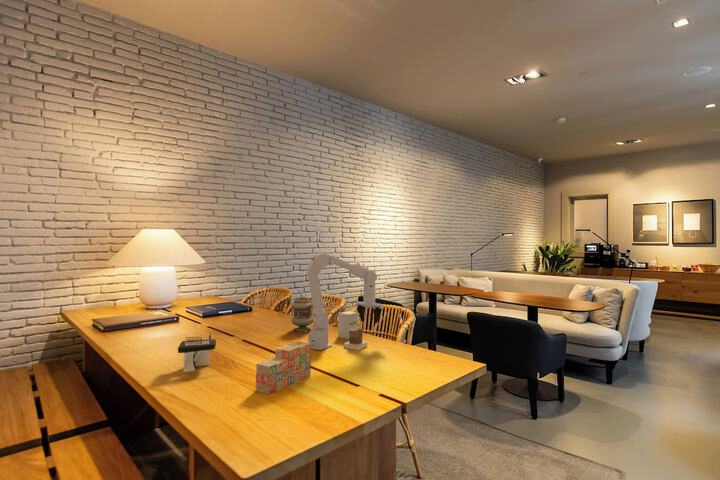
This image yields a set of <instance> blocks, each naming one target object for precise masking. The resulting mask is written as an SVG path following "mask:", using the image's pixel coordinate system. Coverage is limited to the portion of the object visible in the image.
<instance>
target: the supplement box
mask: <svg viewBox="0 0 720 480" xmlns="http://www.w3.org/2000/svg"><path fill="white" fill-rule="evenodd" d="M337 320H338V321H337V322H338V324H337V326H338V327H337V328H338V329H337V337H338V338H341V339H346V340H349V330H351V329H354V328H355V329H358V312H355V311H343V312H341V311H340V312H338V316H337Z"/></svg>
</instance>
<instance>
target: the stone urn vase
mask: <svg viewBox="0 0 720 480" xmlns="http://www.w3.org/2000/svg"><path fill="white" fill-rule="evenodd" d="M291 308H292V309H293V317H292V318H291V324H293V325H294V326H296V327H295V328H294V329H293V331H294V332H295V331H296V332H295V333H306V332H305V331H309V332H310V330H311V331H312V328H311V327H308V326H310V325H311V324H312V323H314V322H313V315H312V309H313V303H312V300H311V297H308V296H307V297H302V296H301V297H299V296H298V297H295V298H294V301H293V302H292V304H291Z"/></svg>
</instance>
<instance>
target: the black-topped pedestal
mask: <svg viewBox="0 0 720 480" xmlns="http://www.w3.org/2000/svg"><path fill="white" fill-rule="evenodd" d="M184 338H185V339H184V340H182V341H181V342H180V344H179V346H178V347H177V353H178V354H183V373H185V374H186V373H190V372H195V371H196V367H200V366H201V367H202V366H203V367H204V366H211V350H215V349H216V346H217V340H216V339H214V338H212V332H210V333H209V335H208V337H207V338H208V339H202V337H201V335H200V336H191V337H190V336H189V337H187V336H185V337H184Z"/></svg>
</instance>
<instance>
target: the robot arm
mask: <svg viewBox="0 0 720 480" xmlns="http://www.w3.org/2000/svg"><path fill="white" fill-rule="evenodd" d="M333 265H335V266H338V267H340V268H342V269H345V270H347V271H349V272H348V273H349V274H351V275H352V276H355V277H357V278H359V279H362V280H363V301H356V302H355V308H356V310H357V314H358V315H359V318H360V322H364V321H365V317H366V316H365V313H366V308H372V311H373V322H374V324H377V323H379V318H380V315H381V313H382V311H383V309H384V304H382V303H378V302H376V280H377V279H378V275H377V272H376V271H374V270H372V269H369V267H368V266H363V265H361V263H360V262H354V263H349V262H347V261H345V260H343V259H341V258H338V257H337V256H334V255H329V254H326V253H322V252H317V253H316V254H315V255H313V256H312V258H311V259H310V263H309V265H308V267H307V269H306V270H307V271H306V275H307V280H308V285H309V291H310V296H311V297H310V298H311V302H312V303H313V307H312V309H313V310H312V312H313V313H312V314H313V315H312V317H313V322H312V323H314V324H313V326H312V328H311V331H309V332H308V340H307V341H308V342H307V343H309V344H311V350H317V351H321V350H324V349H327V348H330V347H332V346H333V345H332V344H329V324H330V320H329V317H328V315H327V314H326V310H325V307H324V300H323V297H322V296H323V295H322V291H321V284H320V280H319V279H320V278H319V274H320V273H321V271H322V270H323V269H325V268H326V267H327V266H333Z"/></svg>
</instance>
